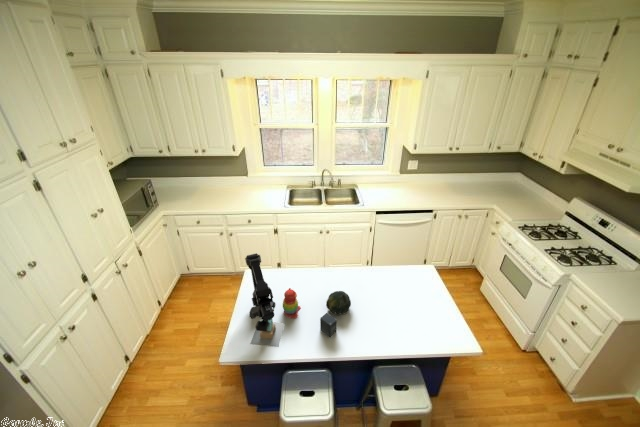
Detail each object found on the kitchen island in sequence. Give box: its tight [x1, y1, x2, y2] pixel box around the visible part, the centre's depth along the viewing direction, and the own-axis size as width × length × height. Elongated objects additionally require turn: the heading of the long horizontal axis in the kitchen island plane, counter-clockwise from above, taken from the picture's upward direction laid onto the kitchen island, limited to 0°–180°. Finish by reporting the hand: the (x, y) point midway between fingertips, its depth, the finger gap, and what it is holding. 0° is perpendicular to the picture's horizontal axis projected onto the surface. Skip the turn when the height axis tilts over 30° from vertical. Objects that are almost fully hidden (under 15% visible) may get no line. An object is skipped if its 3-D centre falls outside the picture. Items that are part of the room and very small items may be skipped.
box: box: [319, 312, 338, 339], centre depth 168 cm, size 8×6×11 cm
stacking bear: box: [282, 287, 302, 320], centre depth 179 cm, size 11×10×18 cm
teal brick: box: [261, 318, 274, 331], centre depth 165 cm, size 5×5×6 cm
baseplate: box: [250, 321, 286, 348], centre depth 169 cm, size 16×16×1 cm
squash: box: [325, 290, 352, 316], centre depth 182 cm, size 14×15×15 cm
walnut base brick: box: [260, 324, 276, 339], centre depth 168 cm, size 7×7×4 cm
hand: (267, 325), depth 166 cm, fingers closed on teal brick, 5 cm apart
